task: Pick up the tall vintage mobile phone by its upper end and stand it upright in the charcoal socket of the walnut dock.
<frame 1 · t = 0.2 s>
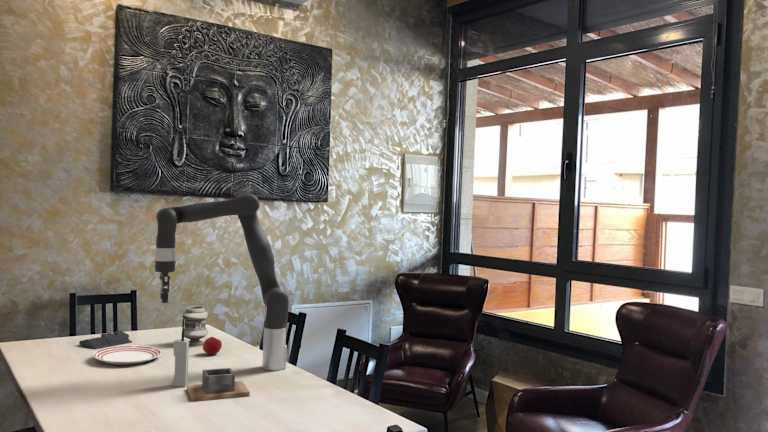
hand: (164, 301, 235), 30 cm above the table, tool pointing down, fingers open, 8 cm apart
dark slate chunk: (105, 344, 285), on the table
apple: (212, 355, 272), on the table
vintage mobile phone: (179, 385, 226), on the table
apothecary jar: (194, 344, 290), on the table
phone dock: (217, 392, 219), on the table
dinner plate: (127, 360, 259), on the table
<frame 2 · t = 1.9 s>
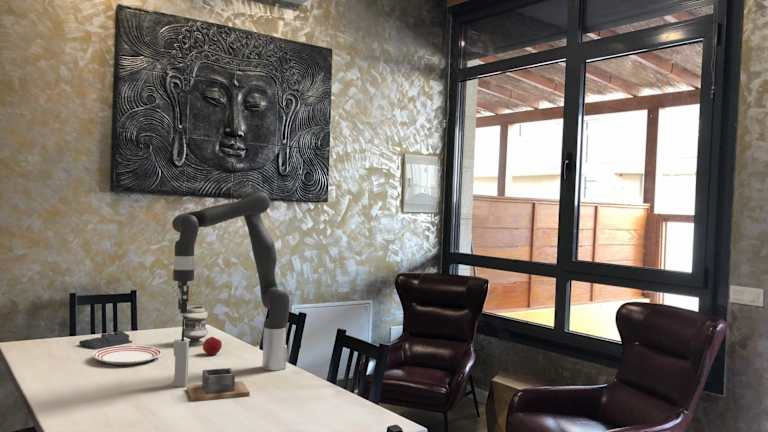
hand: (182, 311, 225), 28 cm above the table, tool pointing down, fingers open, 8 cm apart
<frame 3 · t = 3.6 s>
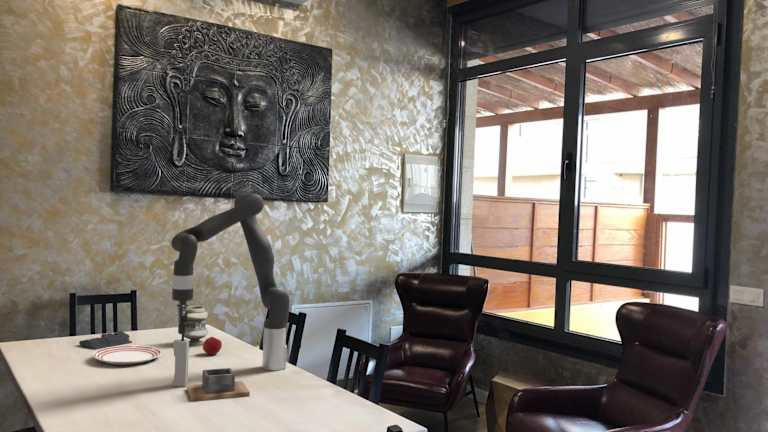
hand: (181, 333, 225), 20 cm above the table, tool pointing down, fingers closed on vintage mobile phone
vintage mobile phone: (179, 385, 226), on the table, touching gripper
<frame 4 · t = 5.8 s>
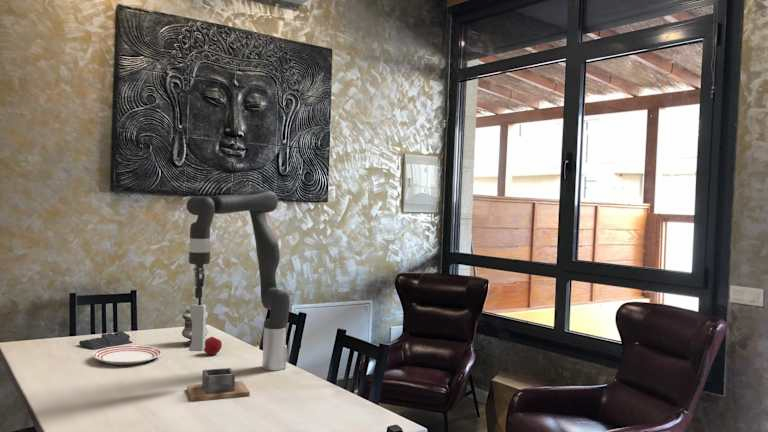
hand: (198, 297, 222), 34 cm above the table, tool pointing down, fingers closed on vintage mobile phone
vintage mobile phone: (196, 350, 223), point 14 cm above the table, touching gripper
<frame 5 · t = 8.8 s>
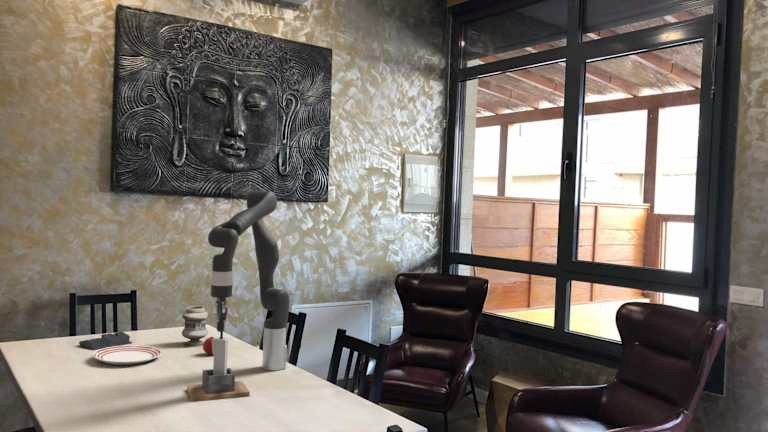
hand: (220, 331, 218), 22 cm above the table, tool pointing down, fingers closed on vintage mobile phone
vintage mobile phone: (218, 385, 219), point 3 cm above the table, touching gripper
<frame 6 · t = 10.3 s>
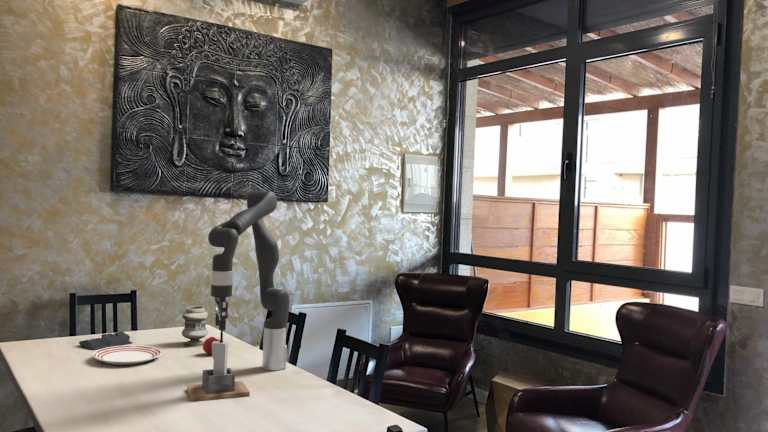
hand: (220, 327, 218), 24 cm above the table, tool pointing down, fingers open, 8 cm apart
vintage mobile phone: (218, 388, 219), point 1 cm above the table, touching phone dock
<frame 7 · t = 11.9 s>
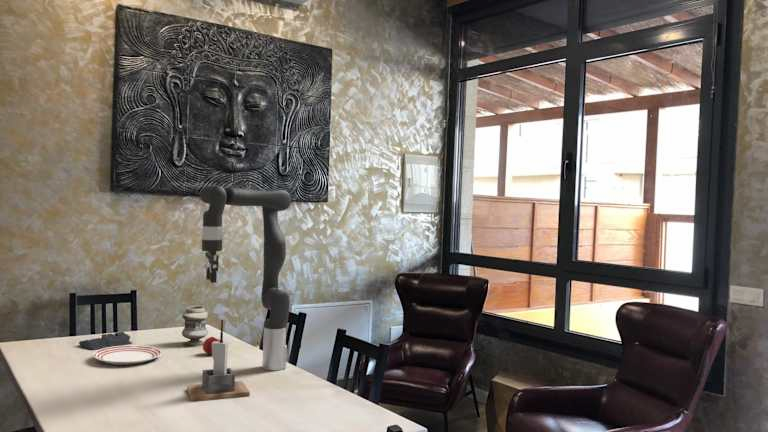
hand: (211, 281, 229), 39 cm above the table, tool pointing down, fingers open, 8 cm apart
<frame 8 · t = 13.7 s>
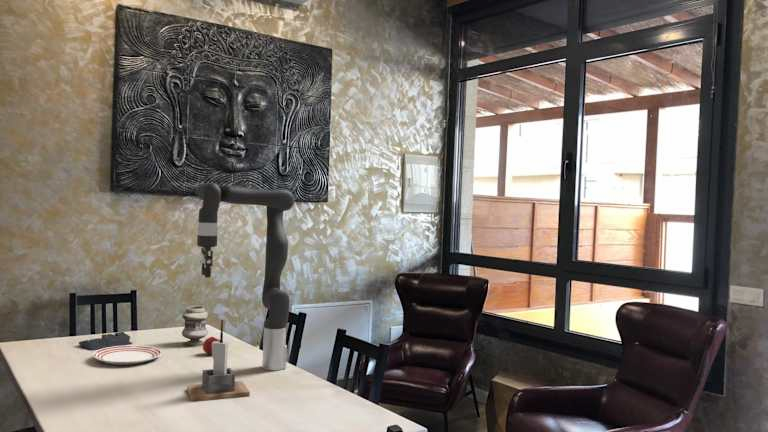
hand: (205, 276, 234), 40 cm above the table, tool pointing down, fingers open, 8 cm apart
at the end: vintage mobile phone 0.3 cm off-centre on the phone dock, point 1.3 cm above the phone dock's base; vintage mobile phone tilted 0°; the gripper is holding nothing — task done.
